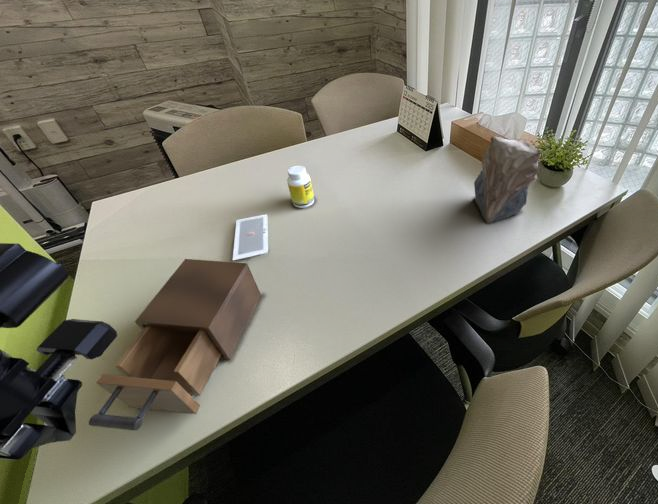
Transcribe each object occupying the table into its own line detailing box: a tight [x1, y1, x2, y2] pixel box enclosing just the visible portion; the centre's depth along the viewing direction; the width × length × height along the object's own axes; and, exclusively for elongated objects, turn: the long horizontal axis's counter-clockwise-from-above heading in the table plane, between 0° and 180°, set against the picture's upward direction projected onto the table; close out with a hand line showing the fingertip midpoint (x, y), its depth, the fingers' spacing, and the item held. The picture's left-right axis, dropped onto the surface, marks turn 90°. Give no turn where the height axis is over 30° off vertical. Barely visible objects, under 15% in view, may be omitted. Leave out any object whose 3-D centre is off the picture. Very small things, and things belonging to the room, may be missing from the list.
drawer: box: [88, 325, 222, 432], centre depth 51 cm, size 17×11×9 cm, turn 175°
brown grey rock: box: [473, 135, 543, 224], centre depth 86 cm, size 13×13×20 cm
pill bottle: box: [286, 164, 315, 209], centre depth 91 cm, size 6×6×11 cm
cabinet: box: [134, 258, 263, 361], centre depth 61 cm, size 14×13×11 cm
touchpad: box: [232, 213, 269, 261], centre depth 82 cm, size 8×15×2 cm, turn 18°
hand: (69, 436), depth 38 cm, fingers closed
